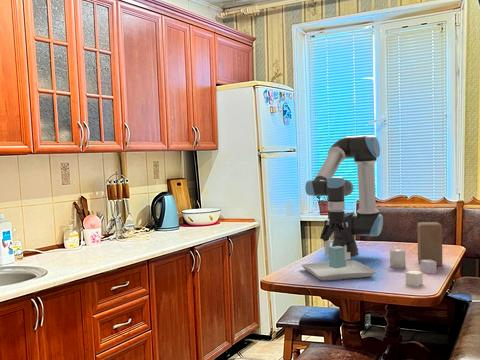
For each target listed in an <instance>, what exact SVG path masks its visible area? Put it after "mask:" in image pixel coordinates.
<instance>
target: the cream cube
mask: <svg viewBox="0 0 480 360" xmlns="http://www.w3.org/2000/svg"><path fill="white" fill-rule="evenodd" d="M423 274H424V272H422V271H419V270H411V269H410V270H408V271H405V285H407V286H414V287H420V286H421V285H423V283H424V280H423V276H424V275H423Z"/></svg>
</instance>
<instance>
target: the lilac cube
mask: <svg viewBox="0 0 480 360" xmlns="http://www.w3.org/2000/svg"><path fill="white" fill-rule="evenodd" d="M419 264H420V266H419V267H420V271H419V272H423V273H425V274H434V273H437V266H436V261H433V260H420V263H419Z"/></svg>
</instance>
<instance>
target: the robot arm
mask: <svg viewBox="0 0 480 360" xmlns="http://www.w3.org/2000/svg"><path fill="white" fill-rule="evenodd" d="M380 156H381V146H380V142H379V140H378V138H377V136H375V135H372V134H370V135H369V134H365V135H352V136H351V135H349V136H344V137H342V138H340V139H338V140H336V141H335V142H334V143H333V144H332V145H331V146H330V147H329V149H328V151H327V157H326V158H325V160H324V162H323V164H322V165H321V167H320V169H318V170H319V171H318V172H317V174H316V176H315V177H314V178H313V180H307V181H306V182H305V188H304V189H305V193H306V195H308V196H314V197H327V210H328V212H327V219H325V220H324V224H323V229H322V231H321V235H320V240H322V241H323V247H324V250H323V252H324V255H325V256H329V247H333V246H342V247H345V260H346V261H348V260H351V256H357V255H359V248H358V244H357V242H356V236H363V237H364V236H365V237H378V236H379V235H380V234H381V233H382V229H383V225H384V218H383V217H384V216H383V215H382V214H380V210H379V209H377V204H376V183H375V180H376V179H375V163H376V162H377V158H379V157H380ZM346 159H353V160H354V163H355V164H356V165H357V167H356V168H357V182H358V187H357V188H358V203H359V204H358V205H359V208H358V210H356V213H355V211H354V210H348V211H344V210H345V207H346V206H345V205H346V204H345V197H348V196H349V195H351V194H352V193H353V191H354V185H353V182H351V181H350V180H347V179H345V178H344V176H335V174H336V172H337V170H338V168H339V166H340V165H341V163H342V162H344V161H345V160H346ZM332 235H333V240H332V245H331V243H330V241H331V240H330V238H331V236H332Z"/></svg>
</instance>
